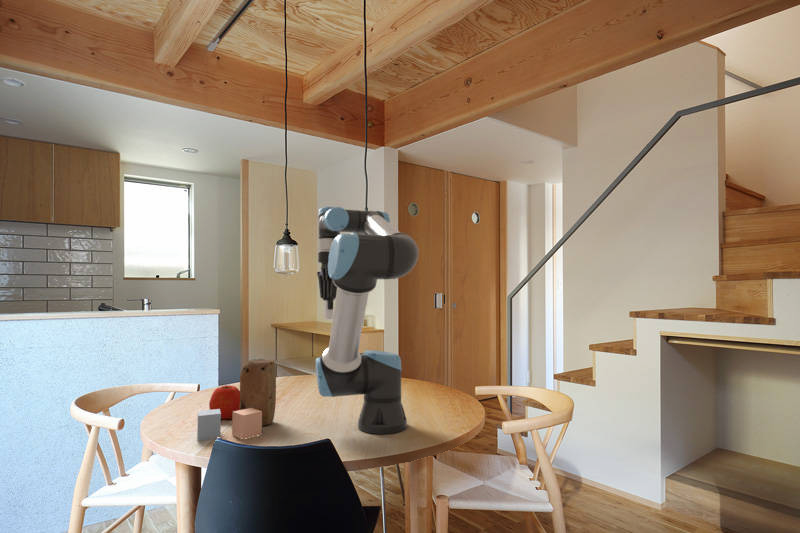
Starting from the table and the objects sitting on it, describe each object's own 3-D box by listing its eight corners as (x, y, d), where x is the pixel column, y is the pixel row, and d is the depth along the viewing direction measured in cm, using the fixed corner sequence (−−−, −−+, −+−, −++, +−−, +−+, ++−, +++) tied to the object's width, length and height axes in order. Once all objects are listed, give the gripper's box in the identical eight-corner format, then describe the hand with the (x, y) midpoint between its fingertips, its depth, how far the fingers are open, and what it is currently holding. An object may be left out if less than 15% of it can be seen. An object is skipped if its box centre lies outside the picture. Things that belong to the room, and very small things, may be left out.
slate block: (220, 438, 134) (220, 413, 134) (197, 441, 132) (198, 415, 132) (219, 432, 140) (219, 408, 140) (197, 435, 137) (197, 410, 137)
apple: (209, 414, 160) (209, 383, 160) (242, 411, 163) (243, 380, 164) (208, 422, 150) (209, 389, 150) (243, 419, 153) (244, 386, 154)
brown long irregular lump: (277, 420, 152) (278, 358, 153) (270, 427, 145) (271, 362, 146) (244, 420, 153) (245, 358, 154) (235, 426, 145) (236, 361, 146)
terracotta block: (261, 435, 137) (262, 411, 137) (242, 440, 132) (243, 415, 133) (250, 431, 141) (250, 407, 141) (232, 436, 136) (232, 411, 137)
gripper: (348, 251, 162) (347, 319, 160) (329, 253, 172) (328, 317, 170) (329, 249, 157) (328, 320, 156) (310, 252, 167) (310, 318, 166)
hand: (328, 318), depth 163 cm, fingers closed
